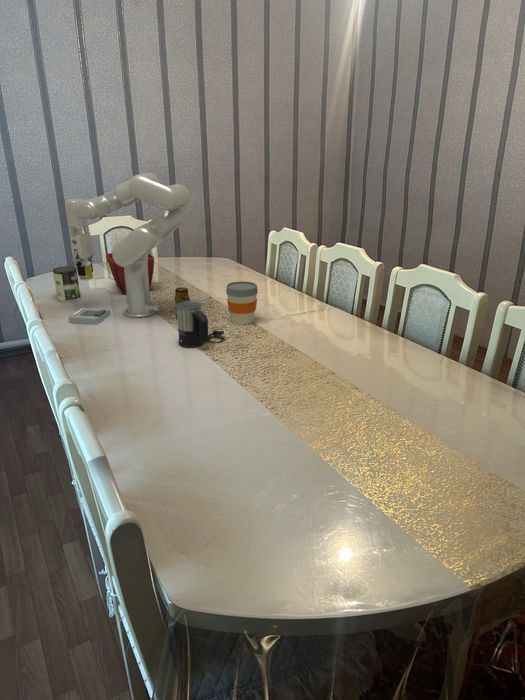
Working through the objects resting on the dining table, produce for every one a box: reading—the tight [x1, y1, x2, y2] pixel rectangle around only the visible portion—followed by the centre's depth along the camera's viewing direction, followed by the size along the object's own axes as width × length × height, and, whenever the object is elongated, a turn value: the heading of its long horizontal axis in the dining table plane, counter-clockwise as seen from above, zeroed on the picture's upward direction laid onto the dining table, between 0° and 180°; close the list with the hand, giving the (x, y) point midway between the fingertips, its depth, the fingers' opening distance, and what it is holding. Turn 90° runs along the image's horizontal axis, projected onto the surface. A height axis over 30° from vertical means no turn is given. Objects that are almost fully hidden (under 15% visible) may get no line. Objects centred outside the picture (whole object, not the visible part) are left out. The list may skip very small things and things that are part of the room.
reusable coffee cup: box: [225, 280, 259, 325], centre depth 208 cm, size 13×12×15 cm
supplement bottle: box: [78, 257, 94, 281], centre depth 217 cm, size 5×5×10 cm
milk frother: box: [176, 300, 225, 348], centre depth 189 cm, size 14×16×15 cm
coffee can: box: [52, 265, 82, 303], centre depth 236 cm, size 10×10×14 cm
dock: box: [68, 307, 111, 325], centre depth 213 cm, size 12×12×3 cm
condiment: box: [171, 287, 191, 320], centre depth 213 cm, size 7×8×12 cm
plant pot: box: [106, 252, 155, 295], centre depth 248 cm, size 19×19×17 cm
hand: (85, 273), depth 218 cm, fingers closed on supplement bottle, 5 cm apart
